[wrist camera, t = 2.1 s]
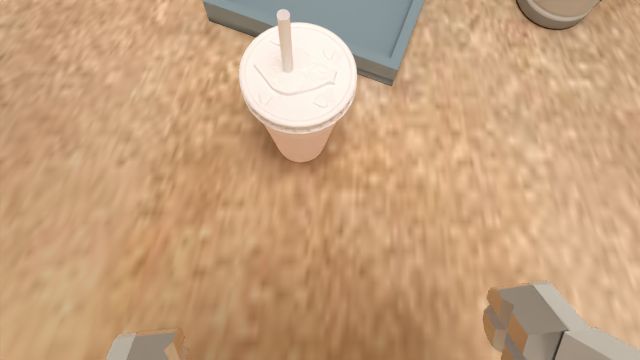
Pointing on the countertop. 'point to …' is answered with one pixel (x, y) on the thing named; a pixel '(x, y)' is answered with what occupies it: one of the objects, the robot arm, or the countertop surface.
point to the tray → (334, 25)
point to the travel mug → (557, 11)
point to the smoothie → (298, 84)
